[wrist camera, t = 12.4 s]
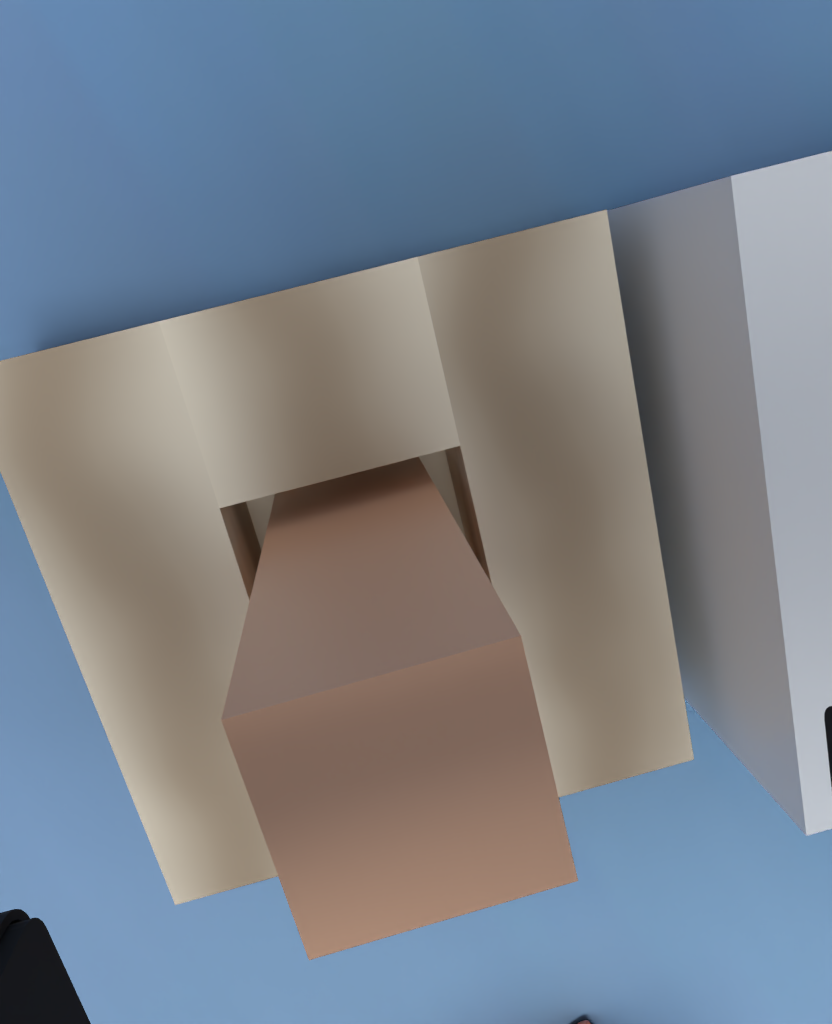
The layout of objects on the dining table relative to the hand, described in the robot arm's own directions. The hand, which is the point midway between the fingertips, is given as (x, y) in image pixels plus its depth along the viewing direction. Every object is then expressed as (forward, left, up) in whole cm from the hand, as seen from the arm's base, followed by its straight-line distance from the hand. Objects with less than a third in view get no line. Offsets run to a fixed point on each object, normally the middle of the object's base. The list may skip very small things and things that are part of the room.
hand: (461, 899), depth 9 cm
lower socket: (0, 0, -15) cm, 15 cm away
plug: (0, 0, -14) cm, 14 cm away
